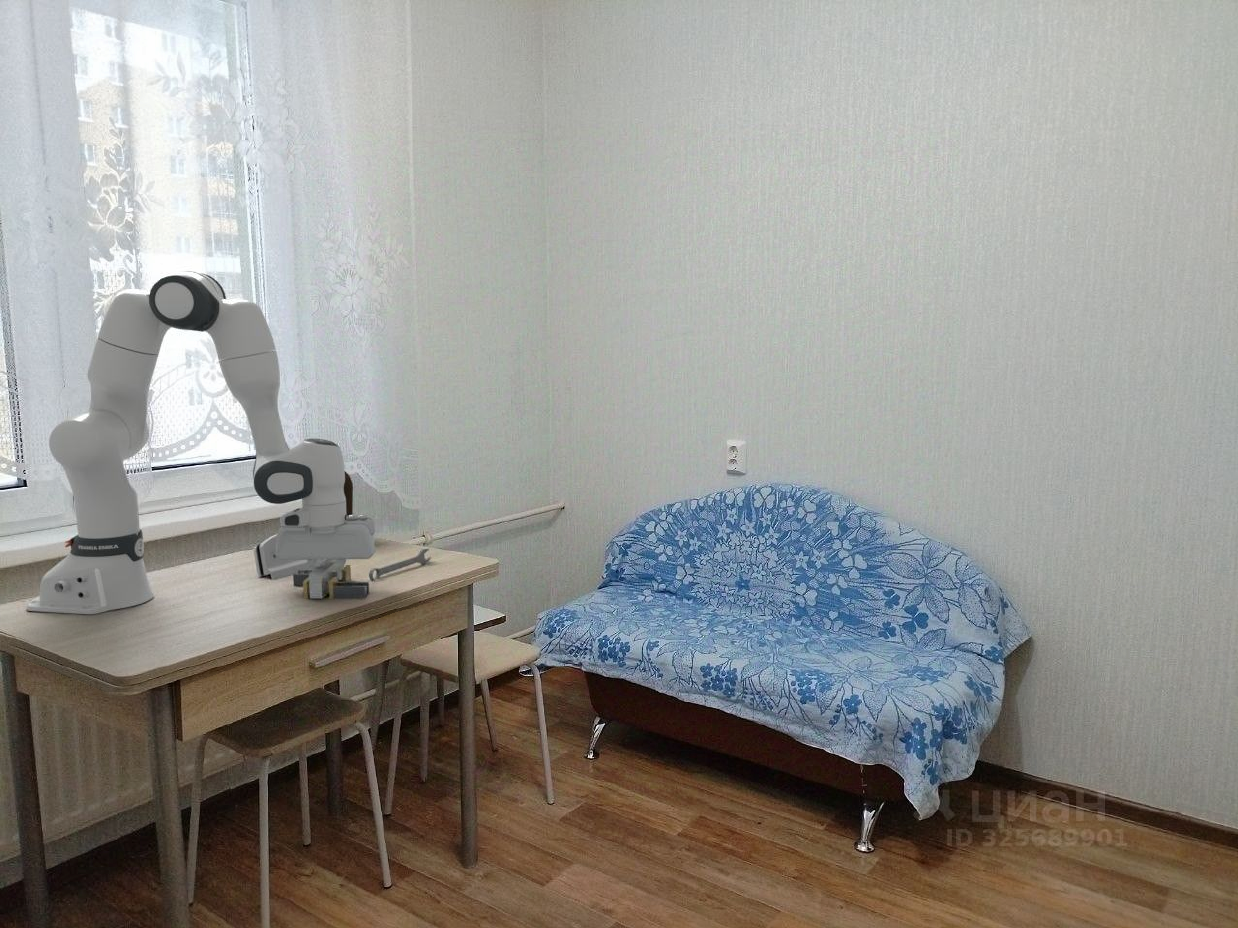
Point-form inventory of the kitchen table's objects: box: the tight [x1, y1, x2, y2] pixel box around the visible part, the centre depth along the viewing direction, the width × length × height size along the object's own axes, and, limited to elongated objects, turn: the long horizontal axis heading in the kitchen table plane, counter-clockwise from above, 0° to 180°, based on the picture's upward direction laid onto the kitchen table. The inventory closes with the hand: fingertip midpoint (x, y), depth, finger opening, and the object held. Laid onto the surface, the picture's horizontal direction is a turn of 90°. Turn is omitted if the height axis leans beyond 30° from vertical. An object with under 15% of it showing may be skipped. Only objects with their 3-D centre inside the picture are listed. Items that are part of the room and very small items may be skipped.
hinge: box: [253, 533, 327, 580], centre depth 217 cm, size 17×5×10 cm, turn 150°
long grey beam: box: [309, 559, 345, 599], centre depth 201 cm, size 3×17×5 cm, turn 1°
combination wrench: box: [368, 548, 432, 581], centre depth 216 cm, size 4×1×20 cm
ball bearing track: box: [292, 564, 370, 599], centre depth 201 cm, size 18×14×4 cm
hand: (327, 578), depth 201 cm, fingers closed on long grey beam, 2 cm apart
